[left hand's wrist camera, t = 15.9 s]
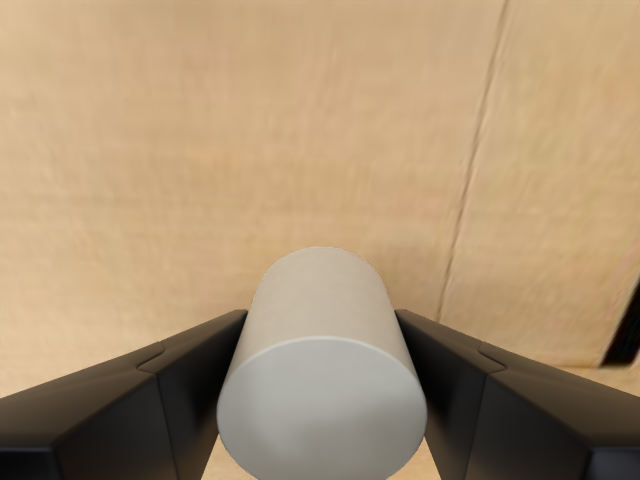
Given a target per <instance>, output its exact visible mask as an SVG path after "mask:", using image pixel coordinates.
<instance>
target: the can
mask: <svg viewBox="0 0 640 480" xmlns="http://www.w3.org/2000/svg"><path fill="white" fill-rule="evenodd" d="M216 418H217V427H218V431H219V434H220V438H221V440H222V442H223V444H224V446H225V448H226V450H227V451H228V453H229V454H230V456H231V457H232V458H233V459H234V460H235V461H236V463H237V464H238V465H239V466H241V467H242V468H243V469H244V470H245V471H246V472H248V473H249V474H251V475H252V476H254V477H255V478H257V479H258V480H385V479H387V478H388V477H390V476H392V475H393V474H395V473H396V472H397V471H398V470H400V469H401V468H402V467H403V466H404V465H405V464H406V463H407V462H408V461H409V460H410V459H411V458H412V457H413V455H414V454H415V452H416V451H417V450H418V448H419V446H420V444H421V442H422V440H423V437H424V434H425V431H426V425H427V404H426V398H425V395H424V393H423V390H422V387H421V384H420V382H419V379H418V376H417V373H416V371H415V368H414V365H413V362H412V360H411V357H410V354H409V351H408V349H407V346H406V343H405V340H404V338H403V335H402V332H401V329H400V327H399V324H398V321H397V318H396V316H395V313H394V310H393V307H392V305H391V302H390V299H389V296H388V294H387V291H386V288H385V285H384V283H383V281H382V279H381V277H380V276H379V274H378V273H377V272H376V270H375V269H374V268H373V267H372V266H371V265H370V264H369V263H368V262H366V261H365V260H364V259H363V258H361V257H359V256H357V255H356V254H354V253H351V252H349V251H347V250H343V249H340V248H335V247H328V246H315V247H307V248H303V249H299V250H296V251H294V252H291V253H289V254H287V255H285V256H283V257H282V258H280V259H279V260H277V261H276V262H275V263H274V264H273V265H272V266H271V267H269V269H268V270H267V271H266V272H265V274H264V275H263V277H262V278H261V280H260V282H259V284H258V287H257V289H256V292H255V295H254V298H253V301H252V304H251V306H250V309H249V312H248V315H247V318H246V321H245V324H244V326H243V329H242V332H241V335H240V338H239V341H238V344H237V346H236V349H235V352H234V355H233V358H232V361H231V363H230V366H229V369H228V372H227V375H226V378H225V381H224V383H223V386H222V389H221V392H220V395H219V399H218V403H217V412H216Z"/></svg>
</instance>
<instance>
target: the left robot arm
mask: <svg viewBox="0 0 640 480" xmlns="http://www.w3.org/2000/svg"><path fill="white" fill-rule="evenodd" d="M394 313H395V316H396V318H397V321H398V324H399V327H400V329H401V332H402V335H403V338H404V340H405V343H406V346H407V349H408V351H409V354H410V357H411V360H412V362H413V365H414V368H415V371H416V373H417V376H418V379H419V382H420V384H421V387H422V390H423V393H424V395H425V398H426V404H427V425H426V431H425V434H424V436H425V439H426V441H427V444H428V447H429V449H430V452H431V454H432V457H433V459H434V462H435V465H436V467H437V470H438V472H439V475H440V477H441V480H640V397H637V396H634V395H631V394H629V393H626V392H623V391H620V390H617V389H614V388H611V387H609V386H606V385H603V384H600V383H597V382H594V381H591V380H589V379H586V378H583V377H580V376H577V375H574V374H571V373H569V372H566V371H563V370H560V369H557V368H554V367H551V366H549V365H546V364H543V363H540V362H537V361H534V360H531V359H528V358H526V357H523V356H520V355H517V354H515V353H512V352H509V351H507V350H504V349H501V348H499V347H496V346H494V345H491V344H489V343H486V342H484V341H483V342H482V341H480V340H478V339H476V338H473V337H471V336H468V335H466V334H463V333H461V332H459V331H456V330H454V329H451V328H449V327H446V326H444V325H441V324H439V323H437V322H434V321H432V320H429V319H427V318H424V317H422V316H420V315H417V314H415V313H412V312H410V311H407V310H394ZM247 315H248V311H247V310H234V311H232V312H229V313H227V314H225V315H222V316H220V317H217V318H215V319H212V320H210V321H208V322H205V323H203V324H200V325H198V326H196V327H193V328H191V329H188V330H186V331H184V332H181V333H179V334H176V335H174V336H171V337H169V338H167V339H164V340H162V341H160V342H159V341H158V342H156V343H153V344H151V345H149V346H146V347H143V348H141V349H138V350H136V351H133V352H131V353H128V354H125V355H122V356H120V357H117V358H114V359H111V360H108V361H106V362H103V363H100V364H97V365H94V366H91V367H89V368H86V369H83V370H80V371H77V372H74V373H72V374H69V375H66V376H63V377H60V378H57V379H55V380H52V381H49V382H46V383H43V384H40V385H37V386H35V387H32V388H29V389H26V390H23V391H20V392H18V393H15V394H12V395H9V396H6V397H3V398H1V399H0V480H201V478H202V475H203V473H204V470H205V468H206V465H207V462H208V460H209V457H210V455H211V452H212V449H213V447H214V444H215V442H216V439H217V436H218V434H219V431H218V427H217V418H216V412H217V403H218V399H219V395H220V392H221V389H222V386H223V383H224V381H225V378H226V375H227V372H228V369H229V366H230V363H231V361H232V358H233V355H234V352H235V349H236V346H237V344H238V341H239V338H240V335H241V332H242V329H243V326H244V324H245V321H246V318H247Z"/></svg>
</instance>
